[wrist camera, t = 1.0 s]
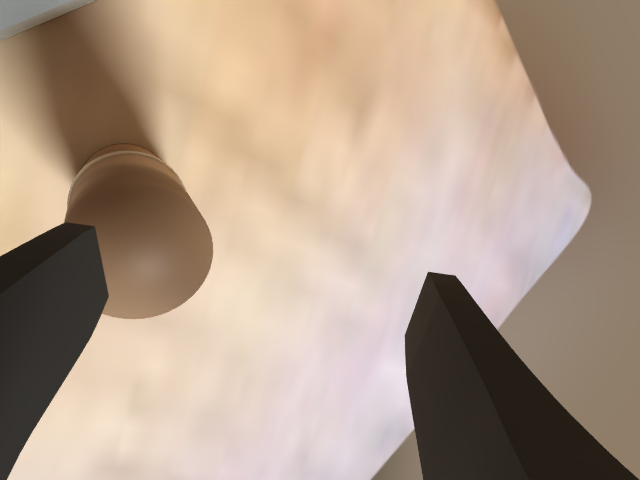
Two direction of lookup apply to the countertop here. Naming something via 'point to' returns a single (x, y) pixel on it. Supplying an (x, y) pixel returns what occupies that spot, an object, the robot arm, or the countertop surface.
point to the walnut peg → (141, 230)
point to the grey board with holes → (32, 13)
